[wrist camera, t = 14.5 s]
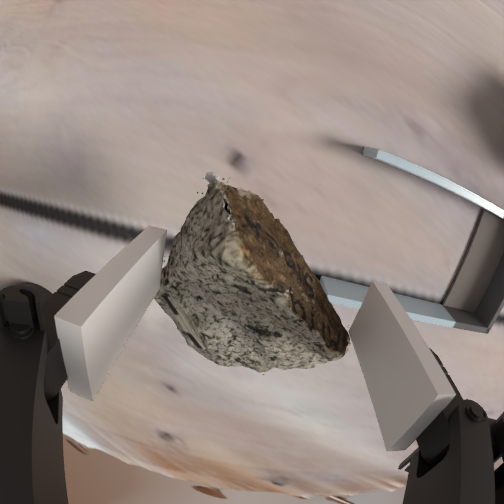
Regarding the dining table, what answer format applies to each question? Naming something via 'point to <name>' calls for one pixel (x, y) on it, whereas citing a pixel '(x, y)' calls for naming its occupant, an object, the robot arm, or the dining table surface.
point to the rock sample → (246, 288)
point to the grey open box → (479, 278)
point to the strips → (414, 307)
